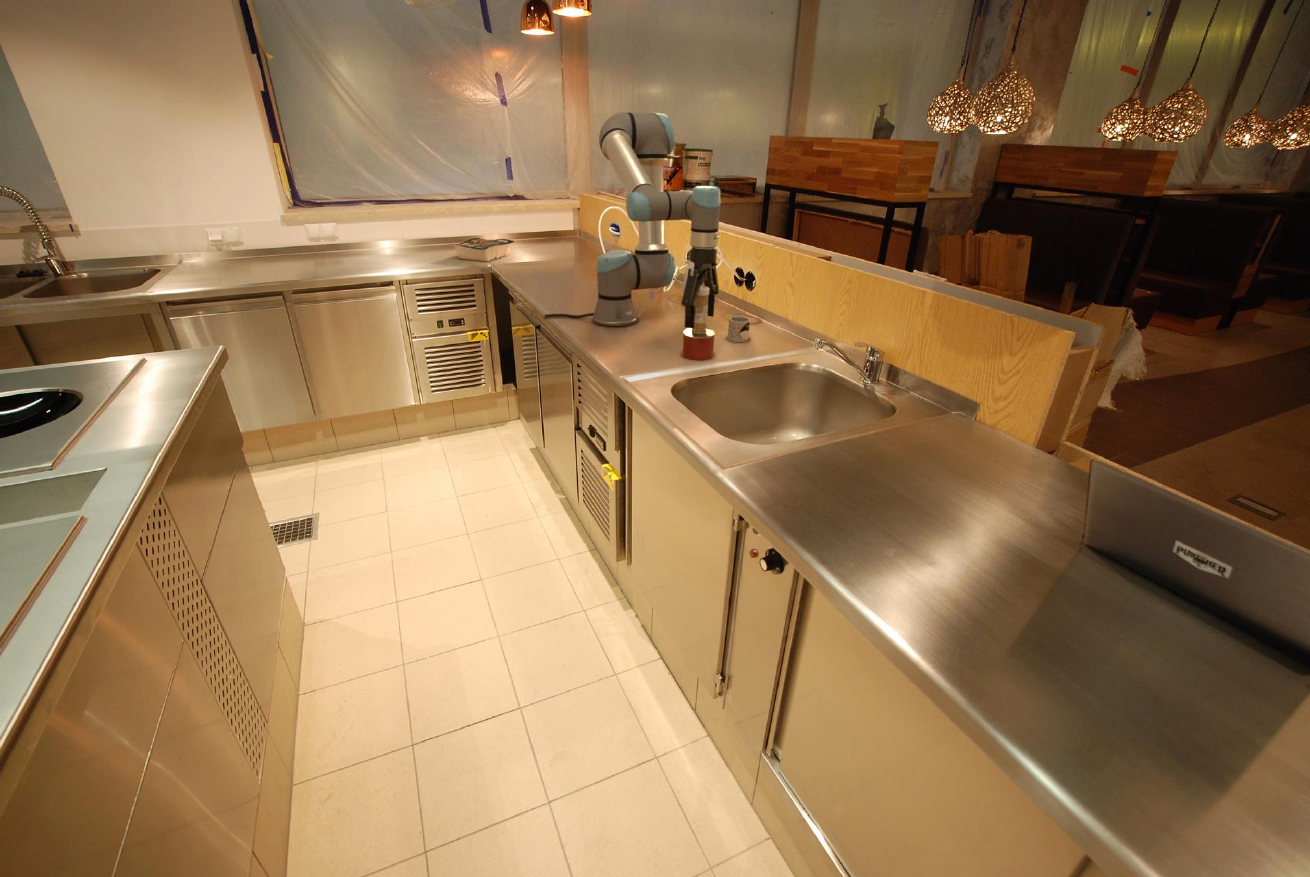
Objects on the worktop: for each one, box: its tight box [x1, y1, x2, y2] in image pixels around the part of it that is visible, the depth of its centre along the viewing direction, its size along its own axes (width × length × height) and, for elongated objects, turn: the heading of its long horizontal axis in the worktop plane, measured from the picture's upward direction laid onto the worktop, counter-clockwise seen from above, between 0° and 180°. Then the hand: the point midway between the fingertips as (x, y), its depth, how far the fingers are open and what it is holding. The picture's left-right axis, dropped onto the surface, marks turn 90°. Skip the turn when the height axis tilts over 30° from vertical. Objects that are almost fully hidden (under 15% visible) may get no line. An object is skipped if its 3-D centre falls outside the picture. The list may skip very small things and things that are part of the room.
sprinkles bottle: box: [691, 285, 709, 334], centre depth 167 cm, size 5×5×14 cm
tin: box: [682, 328, 716, 361], centre depth 172 cm, size 9×9×7 cm
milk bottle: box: [682, 250, 704, 295], centre depth 219 cm, size 8×8×20 cm
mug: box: [727, 315, 751, 343], centre depth 187 cm, size 10×7×7 cm, turn 148°
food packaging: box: [447, 237, 516, 262], centre depth 294 cm, size 25×8×23 cm
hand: (699, 321), depth 169 cm, fingers open, 13 cm apart
